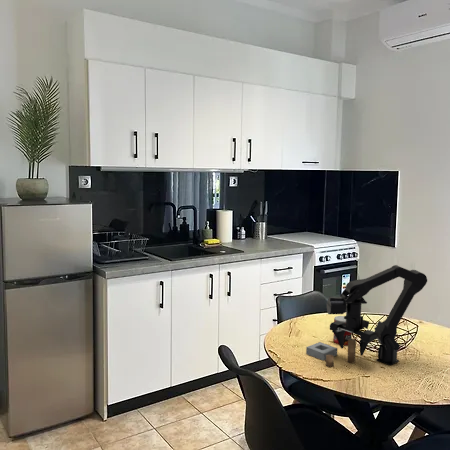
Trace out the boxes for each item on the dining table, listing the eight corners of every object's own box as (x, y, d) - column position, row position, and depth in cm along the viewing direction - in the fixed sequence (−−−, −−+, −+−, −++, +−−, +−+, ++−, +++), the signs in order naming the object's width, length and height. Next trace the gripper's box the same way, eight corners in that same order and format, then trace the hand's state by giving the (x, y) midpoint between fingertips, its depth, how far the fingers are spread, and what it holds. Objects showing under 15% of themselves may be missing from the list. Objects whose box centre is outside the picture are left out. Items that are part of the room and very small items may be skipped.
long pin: (356, 361, 189) (357, 340, 188) (352, 363, 188) (353, 342, 186) (350, 359, 192) (351, 338, 191) (345, 361, 190) (346, 339, 189)
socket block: (337, 355, 196) (337, 348, 196) (323, 360, 190) (323, 353, 190) (319, 348, 203) (320, 342, 202) (306, 353, 197) (306, 346, 197)
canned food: (347, 347, 205) (348, 322, 204) (330, 342, 210) (331, 318, 209) (354, 342, 211) (355, 318, 210) (337, 337, 216) (338, 314, 215)
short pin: (335, 366, 185) (335, 356, 185) (330, 368, 183) (330, 358, 183) (328, 363, 188) (329, 353, 187) (324, 365, 186) (324, 355, 185)
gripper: (385, 315, 185) (383, 353, 187) (345, 304, 199) (344, 340, 201) (369, 321, 178) (367, 360, 180) (329, 309, 192) (328, 346, 194)
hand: (351, 351), depth 189 cm, fingers open, 9 cm apart
